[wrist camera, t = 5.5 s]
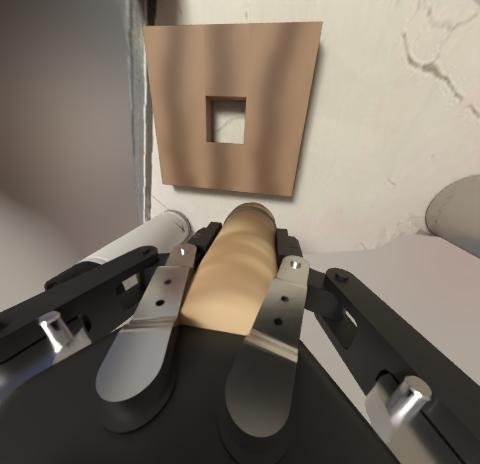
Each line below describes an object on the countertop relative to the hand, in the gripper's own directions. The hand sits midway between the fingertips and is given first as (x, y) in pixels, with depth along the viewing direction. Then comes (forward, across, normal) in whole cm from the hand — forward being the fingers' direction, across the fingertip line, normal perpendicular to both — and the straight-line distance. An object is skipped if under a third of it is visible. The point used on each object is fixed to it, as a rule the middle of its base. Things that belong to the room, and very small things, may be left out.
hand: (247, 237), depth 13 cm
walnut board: (+18, +5, -9) cm, 20 cm away
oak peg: (+4, 0, 0) cm, 4 cm away
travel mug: (+18, +16, +8) cm, 25 cm away
